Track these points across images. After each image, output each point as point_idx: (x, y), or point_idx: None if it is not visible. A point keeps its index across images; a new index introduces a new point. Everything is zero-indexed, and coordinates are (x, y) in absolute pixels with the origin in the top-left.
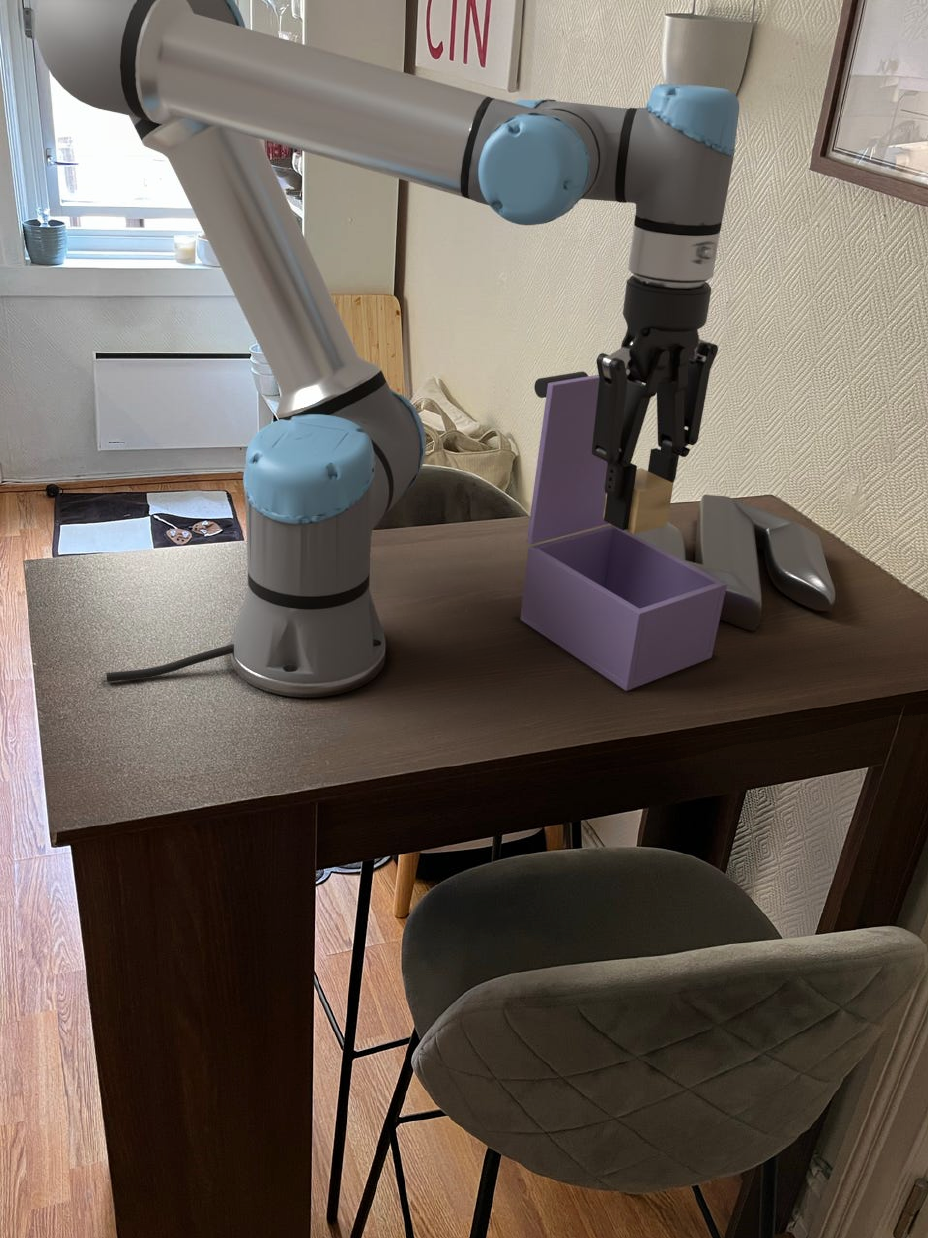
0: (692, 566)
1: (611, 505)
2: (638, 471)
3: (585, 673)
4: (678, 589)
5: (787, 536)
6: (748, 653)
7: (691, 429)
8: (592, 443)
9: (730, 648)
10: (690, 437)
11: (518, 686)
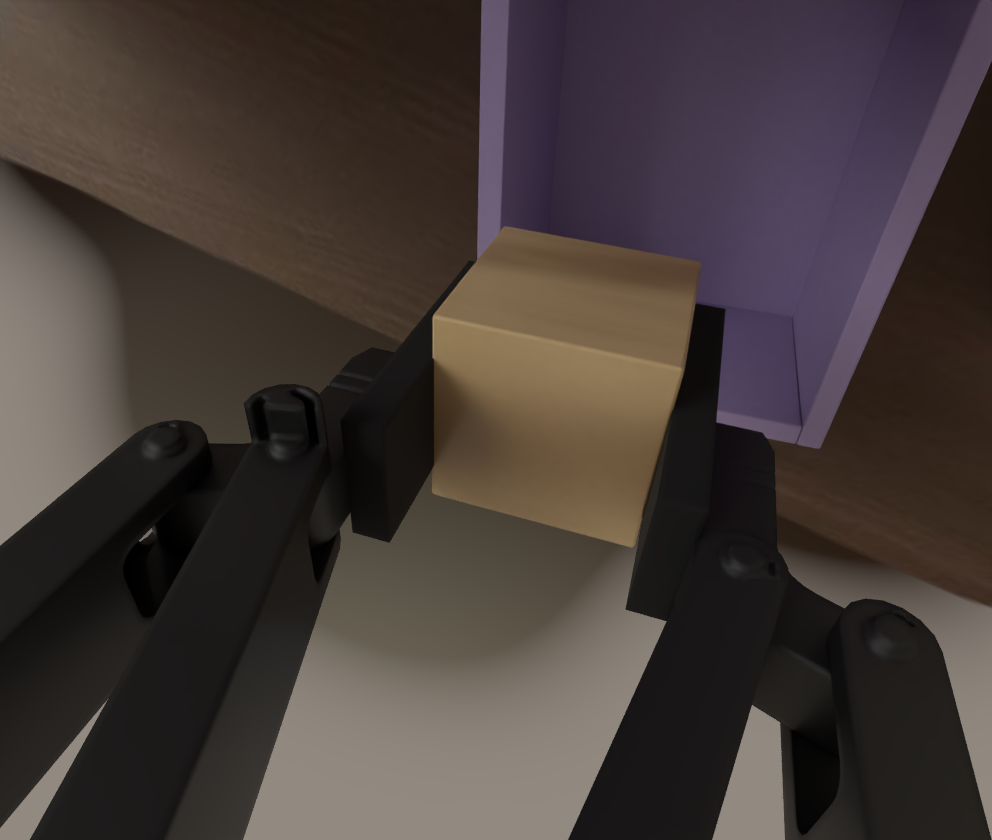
0: (862, 335)
1: None
2: (621, 384)
3: None
4: (841, 269)
5: None
6: (897, 369)
7: (784, 794)
8: (100, 463)
9: (890, 332)
10: (784, 739)
11: (354, 122)
